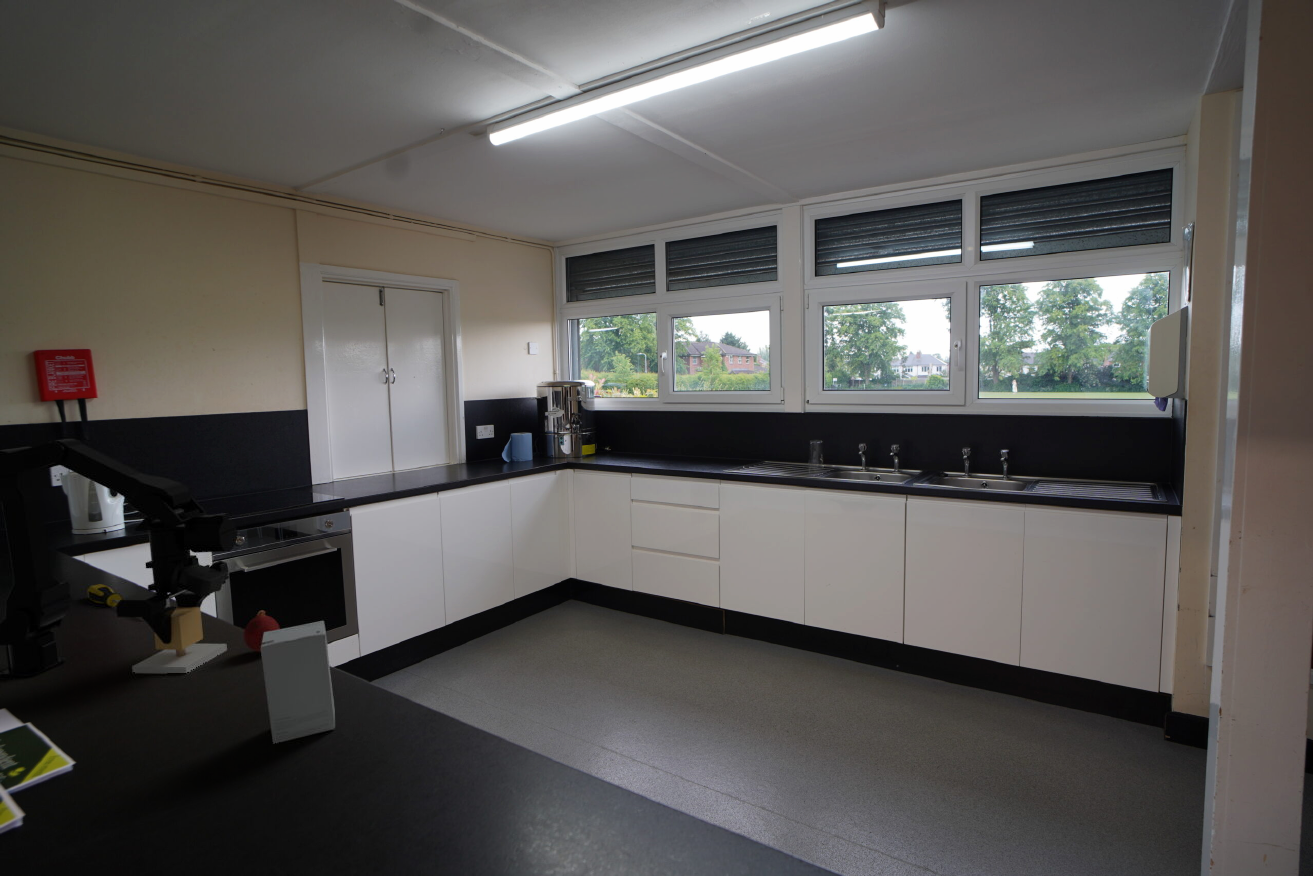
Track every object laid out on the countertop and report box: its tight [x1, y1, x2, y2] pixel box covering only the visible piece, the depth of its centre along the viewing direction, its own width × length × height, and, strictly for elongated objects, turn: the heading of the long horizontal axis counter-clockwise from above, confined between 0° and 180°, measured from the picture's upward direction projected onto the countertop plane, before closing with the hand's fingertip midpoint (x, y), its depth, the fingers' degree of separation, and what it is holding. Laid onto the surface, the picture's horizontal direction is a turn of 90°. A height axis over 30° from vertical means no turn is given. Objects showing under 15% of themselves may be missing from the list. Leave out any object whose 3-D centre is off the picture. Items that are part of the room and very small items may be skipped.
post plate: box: [131, 643, 228, 674], centre depth 123 cm, size 10×10×6 cm
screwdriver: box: [86, 583, 123, 608], centre depth 153 cm, size 3×3×30 cm
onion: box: [243, 610, 281, 653], centre depth 126 cm, size 6×6×8 cm
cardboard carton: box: [153, 606, 204, 651], centre depth 123 cm, size 5×5×6 cm
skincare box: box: [260, 620, 336, 745], centre depth 98 cm, size 8×6×15 cm
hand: (178, 637), depth 123 cm, fingers closed on cardboard carton, 5 cm apart
